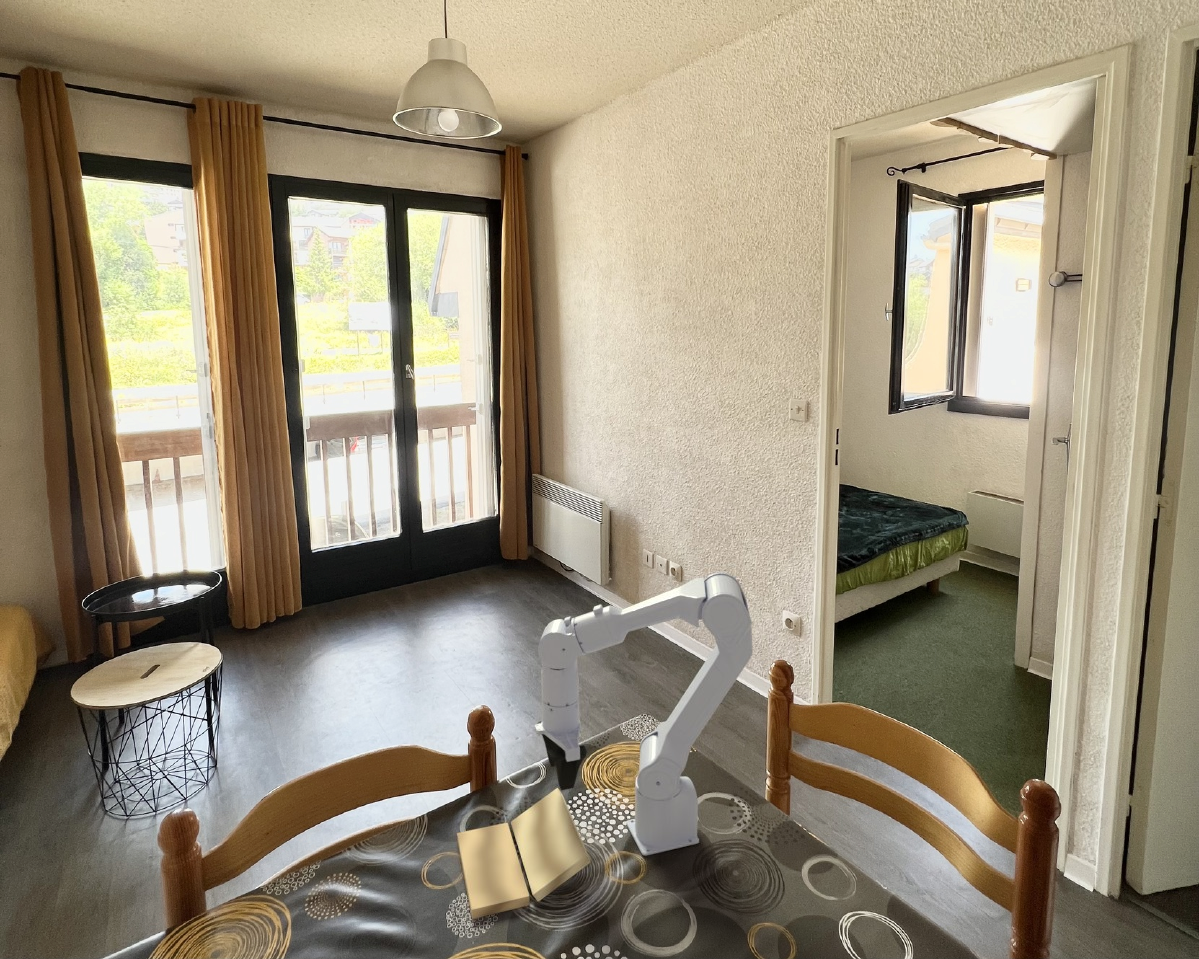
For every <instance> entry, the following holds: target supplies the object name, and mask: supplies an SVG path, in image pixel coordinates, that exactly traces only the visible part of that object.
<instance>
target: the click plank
mask: <svg viewBox="0 0 1199 959" xmlns="http://www.w3.org/2000/svg"><path fill="white" fill-rule="evenodd" d="M510 824H511V828H512V831H513V835H514V837H515V841H516V844H517V846H518V851H519V855H520V857H521V860H522V864H523V867H524V870H525V874H526V877H527V879H528V880H527V881H528V883H529V887H530V890H531V894H532V897H534V898H535V900H536V901H537V902H540V901H542V899H544V898H546V896H548V895H549V894H551V893H552V892H553V891H554V890H556V889H557V888H559V887H560V886H561V885H562V884H564V883H565V882H567V880H569V879H571V878H572V877H573V876H575V875H576V874H577V873H578V872H579V871H581V870H582V869H584V868H586V866H588V865H589V864H590V863H592V861H591V858H590V856H589V853H588V851H587V849H586V846H585V844H584V841H583V839H582V837H581V834H580V832H579V830H578V828H577V825H576V824H575V820H574V818H573V816H572V813H571V812H570V809H569V807H568V804H567V802H566V799H565V797H564V795H563V793H562V792H561V789H559V788H558V787H556V788H555V789H554V790H552V791H551V792H550V793H547V795H546V796H544V797H543V798H541V799H540V800H539V801H537V802H536V803H534V804H533V805H532V806H531V807H529V808H528V809H526V810H525V811H523V812H522V813H521V814H519V815H518V816H517V817H516V818H514V819H512V820H511V821H510Z"/></svg>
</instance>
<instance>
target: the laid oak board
mask: <svg viewBox="0 0 1199 959" xmlns="http://www.w3.org/2000/svg"><path fill="white" fill-rule="evenodd" d="M456 839H457V847H458V852H459V858H460V863H461V868H462V872H463V880H464V883H465V889H466V894H467V898H468V904H469V909H470V914H471V919H472V920H474V919H478V918H482V917H486V916H491V915H495V914H498V913H502V912H507V911H511V910H512V911H513V910H515V909H519V908H520V909H521V908H524V907H527V906H530V893H529V891H528V887H527V884H526V880H525V877H524V874H523V871H522V870H523V869H522V867H521V864H520V859H519V857H518V853H517V850H516V845H515V843H514V840H513V836H512V833H511V831H510V825H509V823H508V822H505V823H503V822H502V823H498V824H494V825H490V826H485V827H480V828H475V829H470V830H466V831H460V832H456Z"/></svg>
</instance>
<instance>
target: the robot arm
mask: <svg viewBox="0 0 1199 959" xmlns="http://www.w3.org/2000/svg"><path fill="white" fill-rule="evenodd" d="M592 610H593V611H589V612H587V613H584V614H581V615H578V616H575V617H572V616H566V617H565V618H564V619H562V618H560V619H554V620H552V621H550V622H549V623H548V624H547V626H545V628H544V630H543V632H542V634H541V638H540V640H539V642H538V646H537V656H538V658H539V660H540V661H541V672H540V677H541V679H540V681H541V682H540V684H541V686H540V687H541V721H538V722H537V723H536V724H535V725H534V730H535V734H537V735H539V736H542V739H543V741H544V742H543V743H544V745H545V749H546V754H547V759H548V763H549V765H550V767H551V768H552V767H555V773H556V778H557V783H558V786H559V788H560V789H559V790H560V791H564V790H565V791H566V790H570V789H574V788H575V785H576V780H577V777H578V773H579V769H580V766H581V765H582V763H583V761H584V759H585V758H586V757H587V754H588V753H587V752H588V751H587V748H586V746H585V745H584V744H583V745H579V743H580V742H579V741H580V735H581V734H580V733H581V721H580V696H579V695H580V692H579V691H580V687H579V686H580V684H579V682H580V681H579V678H580V677H579V674H580V673H579V666H578V658H579V657H581V656H586V655H588V654H591V653H595V652H597V651H600V650H604V649H607V648H609V647H610V648H611V647H613V646H617V645H619V644H621V643H623V642H624V641H625V639H626V636H627V634H628V633H629V632H633V631H637V630H639V629H640V630H641V629H644V628H647V627H652V626H654V625H658V624H662V623H665V622H670V621H674V620H677V619H680V620H682V621H684V622H686V623H688V624H690V625H692V626H693V627H696V628H700V622H699V620H700V621H702V623H703V625H704V627H706V629H707V631H708V632H709V634H711V636H713V637H714V641H715V646H714V647H713V649H712V651H711V652H710V653H709V655H708V656H707V658H706V660H705V661H704V662H703V665H702V666H701V668H700V669H699V671H698V672H697V673H696V675H695V677H694V678H693V680H692V681H691V683H690V684H689V686H688V688H687V689H686V690H685V692H684V694H683V695H682V697H681V698H680V699H679V701H678V703H677V705H676V706H675V708H674V709H673V710H672V712H671V713H670V714H669V716H668V718H667V719H666V721H661V722H659V724H658V726H657V727H656V728H655V729H654V730H653V731H651V732H649V733H647V734H646V735H645V736H644V737H643V738H642V740H641V741H640V744H639V762H638V763H639V766H638V767H639V768H638V773H637V776H636V777H635V785H634V788H635V790H634V792H635V793H634V810H635V811H634V818H633V819H628V820H626V822H625V824H626V826H627V829H628V830H629V832H630V834H631V836H632V838H633V840H634V842H635V843H636V845H637V847H638V849H639V851H640V853H641V855H643V856H650V855H654V854H660V853H663V852H666V851H671V850H675V849H680V848H683V847H687V846H693V845H696V844H699V843H700V838H699V837H698V822H699V821H698V818H699V801H698V796H697V791H696V788H695V786H694V783H693V781H692V780H691V778H690V777H688V776H682V773H683V772H684V770H685V769H686V766H687V762H688V759H689V755H690V751H691V749H692V746H693V745H694V743H695V742H696V740H697V739H698V737H699V736H700V734H701V733H702V732H703V730H704V728H705V727H706V725H707V724H708V722H709V721H710V720H711V718H712V716H713V715H714V713H715V712H716V710H717V709H718V707H719V706H720V704H722V702H723V700H724V698H725V697H726V695H727V694H728V693H729V691H730V689H731V688H732V687H733V686H734V684H735V682H736V681H737V679H738V678H739V677H740V674H741V673H742V672H743V670H744V669H745V667H746V666H747V664H748V662H749V661H750V659H751V658H752V655H753V635H752V634H753V633H752V632H753V631H752V625H753V624H752V623H753V621H752V619H751V615H750V611H749V607H748V601H747V598H746V595H745V594H744V591H743V588H742V586H741V584H740V582H739V581H738V579H737V578H736V577H734V576H733V575H732V574H729V573H727V572H720V571H719V572H715V573H711V574H709V575H708V576H706V577H705V578H704V576H702V577H696V578H694V579H692V580H691V581H688V582H686V583H684V584H682V585H681V586H678V587H675V588H672V589H671V590H668V591H666V592H663V593H660V594H658V595H656V596H652V597H651V598H648V599H646V600H643V601H641V602H638V603H636V604H632V605H630V606H629V607H626V608H623V609H620V608H618V607H616V606H613V605H611V604H610V605H607V606H604V607H603V604H598V605H595V606H593V609H592Z"/></svg>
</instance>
